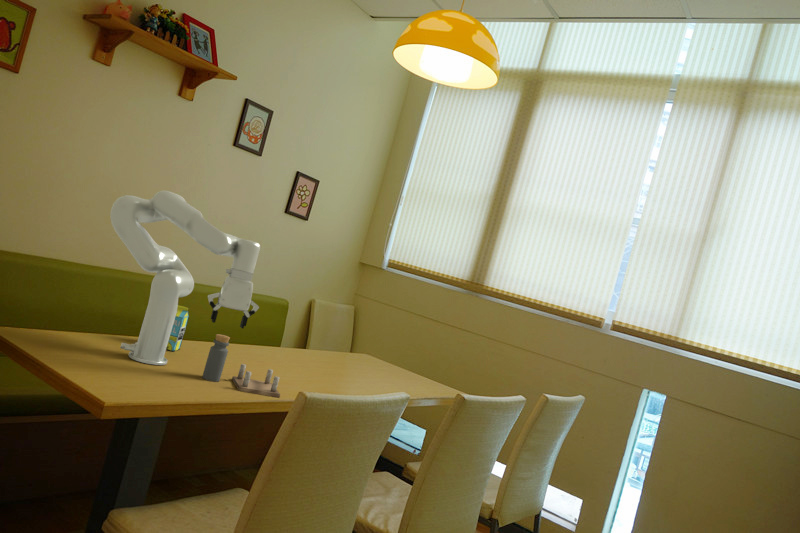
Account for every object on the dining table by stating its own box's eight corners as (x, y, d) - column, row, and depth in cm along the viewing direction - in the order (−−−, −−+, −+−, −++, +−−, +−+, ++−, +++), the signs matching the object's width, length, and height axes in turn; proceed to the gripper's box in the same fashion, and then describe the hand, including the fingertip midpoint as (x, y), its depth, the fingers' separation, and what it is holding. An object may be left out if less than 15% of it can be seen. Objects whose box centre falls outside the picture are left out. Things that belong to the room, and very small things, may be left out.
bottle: (214, 382, 204) (226, 338, 204) (198, 377, 205) (211, 333, 206) (222, 380, 210) (234, 338, 210) (207, 375, 211) (219, 333, 211)
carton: (153, 347, 231) (167, 300, 232) (161, 344, 239) (174, 299, 239) (172, 352, 231) (186, 305, 232) (179, 349, 239) (192, 305, 239)
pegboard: (238, 390, 203) (243, 372, 203) (231, 379, 215) (236, 362, 216) (279, 397, 209) (284, 379, 209) (270, 386, 221) (275, 369, 221)
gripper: (216, 270, 201) (203, 321, 201) (268, 283, 208) (254, 332, 208) (213, 268, 208) (200, 317, 208) (263, 280, 215) (250, 328, 215)
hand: (227, 324), depth 208 cm, fingers open, 9 cm apart
